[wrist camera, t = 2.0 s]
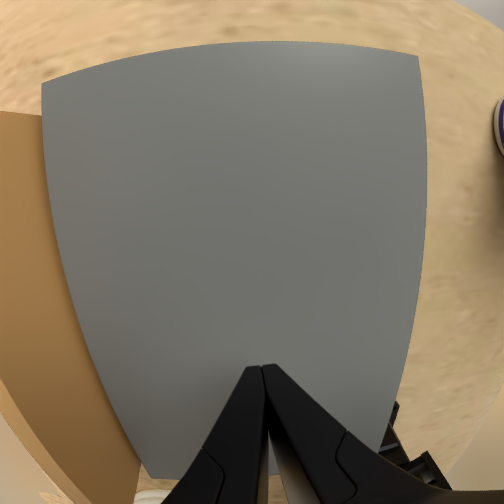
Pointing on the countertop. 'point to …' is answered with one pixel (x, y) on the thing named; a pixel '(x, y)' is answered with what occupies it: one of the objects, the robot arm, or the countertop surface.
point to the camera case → (240, 229)
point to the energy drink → (499, 124)
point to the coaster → (151, 496)
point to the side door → (50, 340)
